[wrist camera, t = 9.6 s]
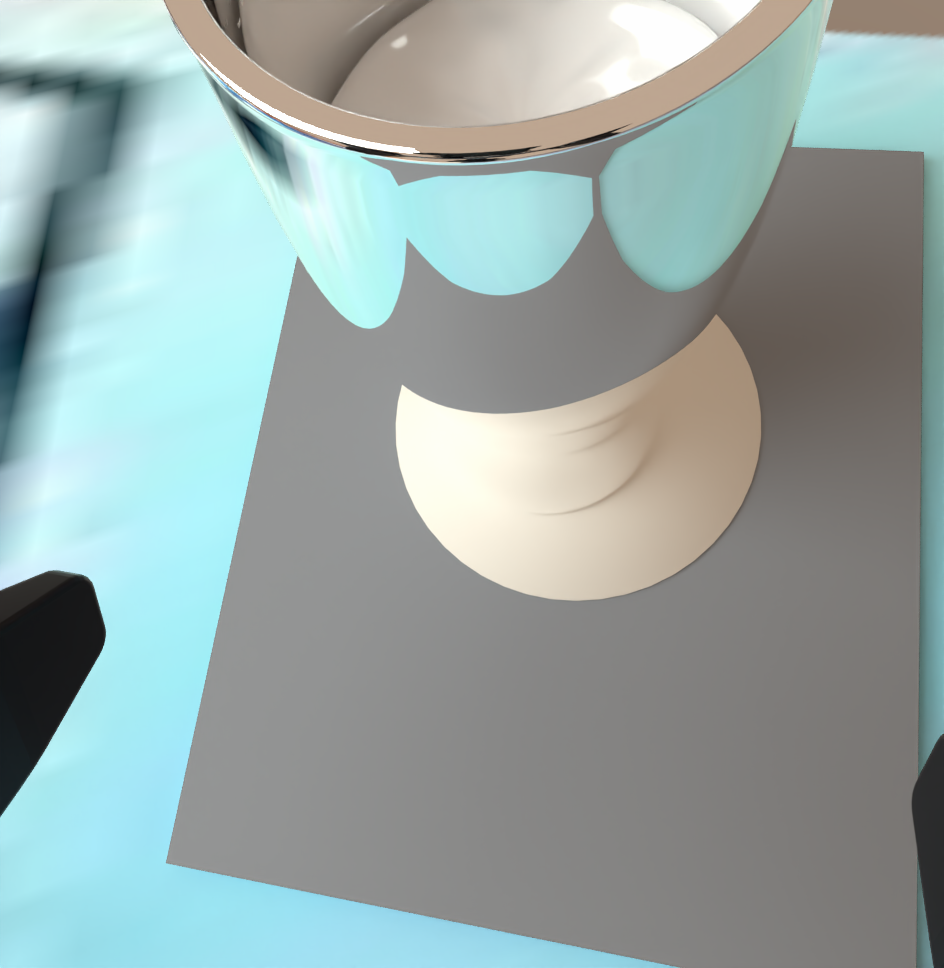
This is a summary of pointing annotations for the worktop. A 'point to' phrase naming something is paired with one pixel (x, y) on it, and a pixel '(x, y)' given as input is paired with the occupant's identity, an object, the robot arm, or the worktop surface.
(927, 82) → the worktop surface
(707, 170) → the beer glass
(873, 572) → the slate mat
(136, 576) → the worktop surface
